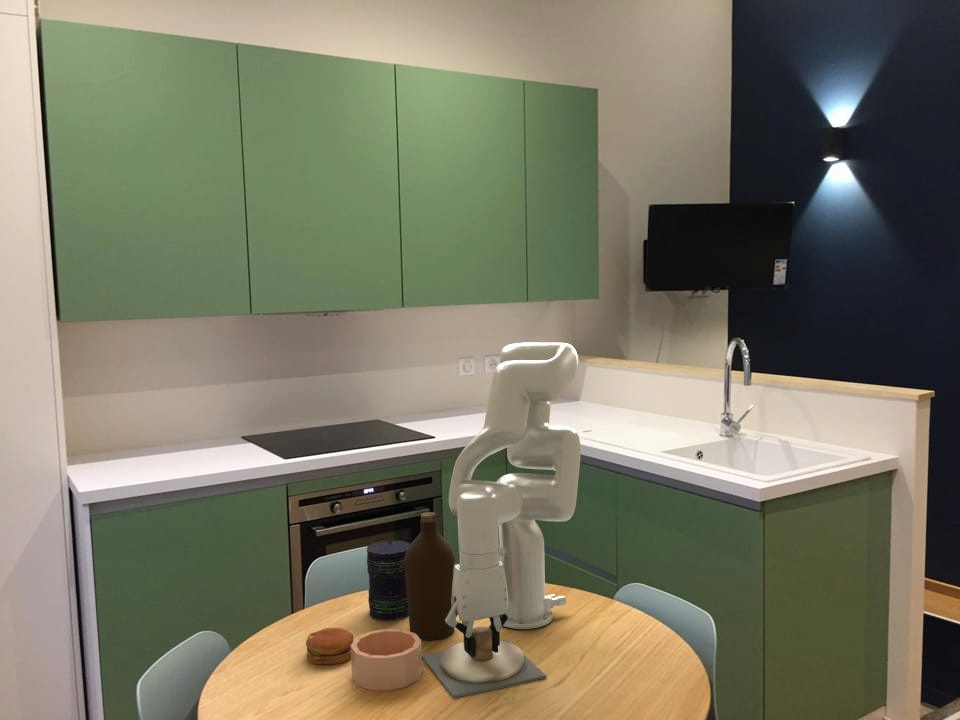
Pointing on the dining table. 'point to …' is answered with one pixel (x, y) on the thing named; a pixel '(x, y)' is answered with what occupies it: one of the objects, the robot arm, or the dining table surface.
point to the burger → (329, 646)
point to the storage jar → (387, 580)
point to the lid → (482, 659)
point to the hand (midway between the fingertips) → (482, 651)
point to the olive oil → (429, 581)
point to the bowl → (386, 659)
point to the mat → (468, 688)
